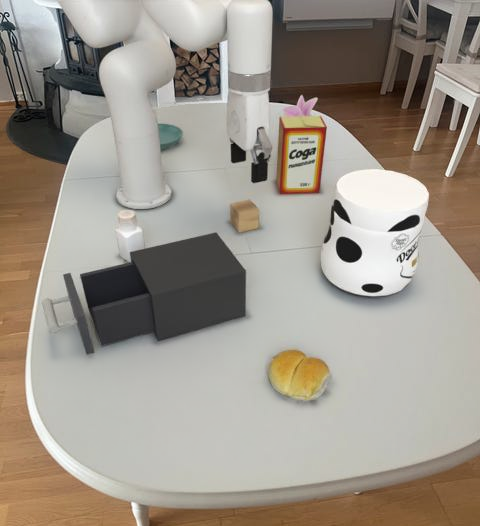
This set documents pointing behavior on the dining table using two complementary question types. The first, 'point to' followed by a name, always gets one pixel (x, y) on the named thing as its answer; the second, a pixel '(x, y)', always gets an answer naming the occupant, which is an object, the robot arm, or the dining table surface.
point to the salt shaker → (129, 234)
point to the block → (244, 215)
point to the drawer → (107, 305)
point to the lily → (300, 108)
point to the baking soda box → (300, 154)
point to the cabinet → (192, 284)
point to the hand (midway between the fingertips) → (248, 171)
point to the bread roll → (298, 375)
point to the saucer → (169, 135)
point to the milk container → (374, 232)
